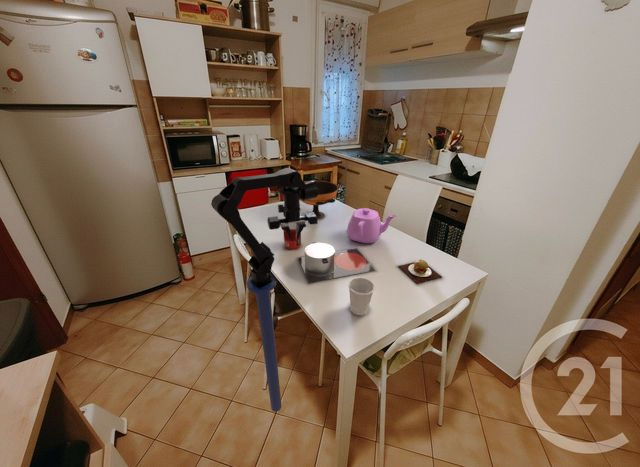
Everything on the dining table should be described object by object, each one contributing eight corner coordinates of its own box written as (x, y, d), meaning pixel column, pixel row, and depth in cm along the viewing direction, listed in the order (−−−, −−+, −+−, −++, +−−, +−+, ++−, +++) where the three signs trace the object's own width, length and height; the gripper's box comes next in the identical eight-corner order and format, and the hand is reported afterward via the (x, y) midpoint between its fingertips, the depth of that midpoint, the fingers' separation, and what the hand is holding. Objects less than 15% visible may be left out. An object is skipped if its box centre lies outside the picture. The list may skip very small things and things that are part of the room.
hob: (309, 283, 100) (309, 282, 99) (298, 258, 115) (298, 257, 114) (375, 270, 107) (375, 270, 107) (356, 248, 122) (356, 248, 122)
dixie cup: (344, 300, 91) (346, 277, 87) (368, 299, 92) (371, 276, 87) (348, 319, 84) (350, 294, 79) (374, 317, 84) (378, 293, 80)
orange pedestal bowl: (284, 208, 164) (283, 181, 156) (320, 202, 175) (320, 176, 166) (309, 232, 136) (309, 200, 128) (350, 223, 147) (352, 193, 138)
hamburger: (421, 261, 113) (424, 250, 111) (441, 277, 104) (444, 266, 101) (398, 266, 110) (400, 255, 107) (416, 284, 100) (419, 272, 97)
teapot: (340, 245, 125) (342, 216, 118) (352, 226, 143) (353, 200, 136) (389, 254, 118) (393, 224, 111) (394, 234, 135) (399, 207, 128)
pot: (310, 280, 101) (310, 262, 97) (301, 259, 114) (300, 243, 110) (339, 274, 104) (340, 257, 100) (327, 254, 117) (327, 239, 113)
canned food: (300, 250, 121) (299, 228, 116) (283, 249, 121) (281, 228, 116) (301, 241, 128) (301, 221, 122) (285, 241, 128) (284, 221, 122)
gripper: (310, 193, 107) (310, 228, 114) (264, 198, 102) (267, 233, 109) (318, 203, 98) (318, 240, 105) (267, 208, 92) (271, 246, 100)
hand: (293, 239), depth 105 cm, fingers closed
